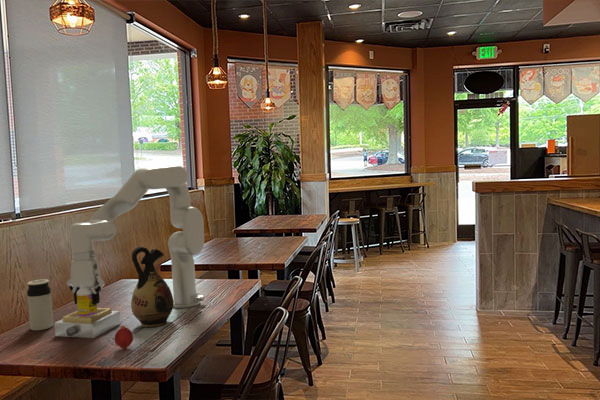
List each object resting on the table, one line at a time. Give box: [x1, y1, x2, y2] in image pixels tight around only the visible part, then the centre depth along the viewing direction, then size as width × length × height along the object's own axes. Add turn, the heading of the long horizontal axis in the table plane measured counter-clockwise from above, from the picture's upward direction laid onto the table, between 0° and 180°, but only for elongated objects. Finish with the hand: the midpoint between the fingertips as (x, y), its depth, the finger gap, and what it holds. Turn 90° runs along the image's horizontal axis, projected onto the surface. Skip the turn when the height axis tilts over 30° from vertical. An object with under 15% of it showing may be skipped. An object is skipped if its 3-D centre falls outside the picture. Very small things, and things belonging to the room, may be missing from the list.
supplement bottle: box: [76, 284, 98, 317], centre depth 186 cm, size 7×7×13 cm
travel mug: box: [26, 278, 54, 332], centre depth 192 cm, size 8×8×18 cm
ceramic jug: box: [130, 246, 174, 328], centre depth 189 cm, size 17×15×30 cm
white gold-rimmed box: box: [53, 307, 121, 339], centre depth 186 cm, size 16×18×6 cm
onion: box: [114, 324, 134, 350], centre depth 165 cm, size 6×6×8 cm
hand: (87, 303), depth 186 cm, fingers open, 7 cm apart
